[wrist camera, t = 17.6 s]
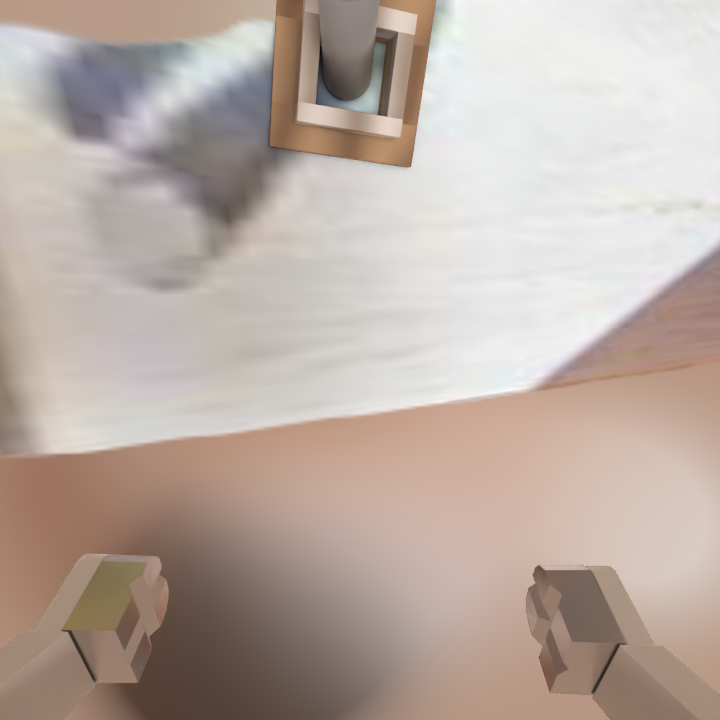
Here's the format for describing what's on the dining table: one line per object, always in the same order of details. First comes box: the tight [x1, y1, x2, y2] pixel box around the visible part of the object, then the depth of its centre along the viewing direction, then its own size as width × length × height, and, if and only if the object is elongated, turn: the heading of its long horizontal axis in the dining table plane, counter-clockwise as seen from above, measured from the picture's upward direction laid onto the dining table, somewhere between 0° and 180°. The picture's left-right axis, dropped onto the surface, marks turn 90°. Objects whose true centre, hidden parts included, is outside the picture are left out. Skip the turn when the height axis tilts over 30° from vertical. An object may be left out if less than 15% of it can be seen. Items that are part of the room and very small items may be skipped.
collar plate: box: [269, 0, 436, 167], centre depth 42 cm, size 14×14×4 cm
